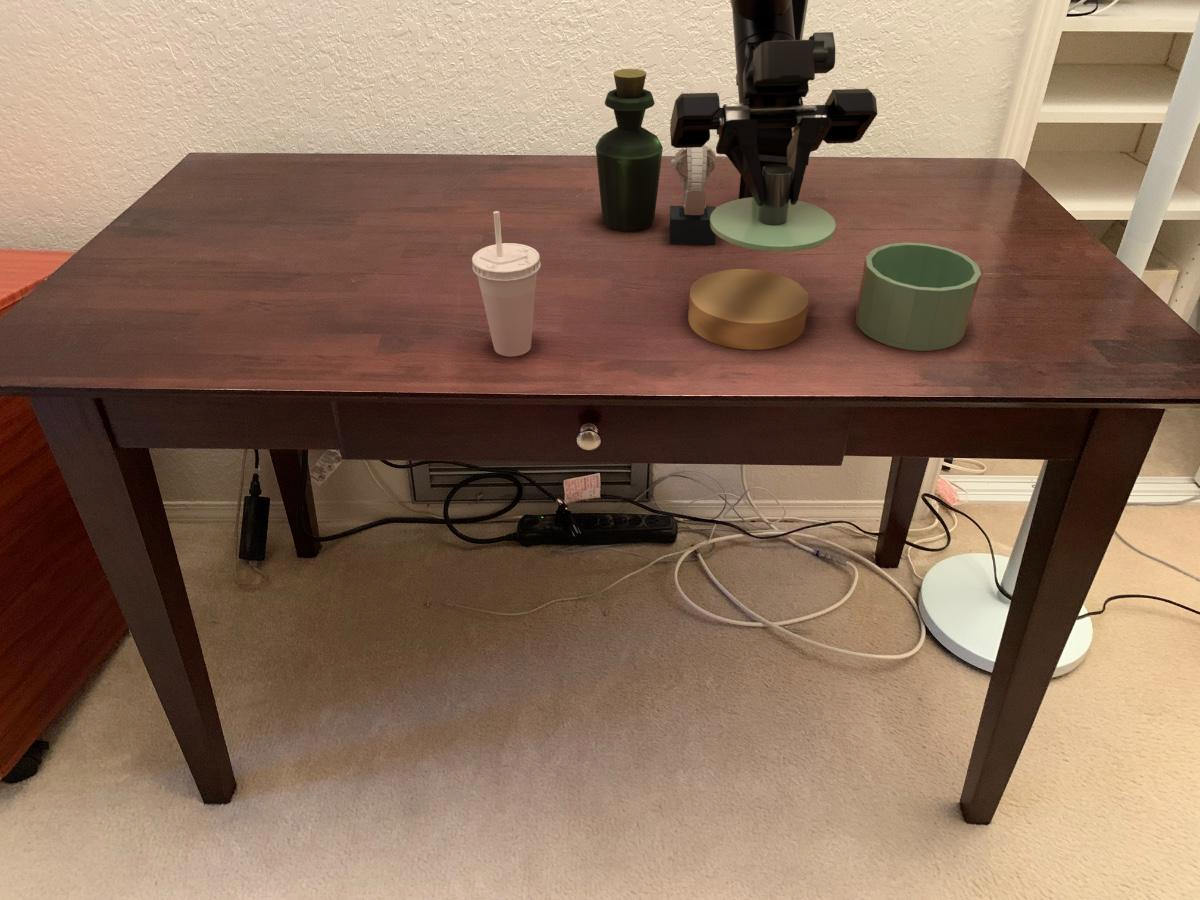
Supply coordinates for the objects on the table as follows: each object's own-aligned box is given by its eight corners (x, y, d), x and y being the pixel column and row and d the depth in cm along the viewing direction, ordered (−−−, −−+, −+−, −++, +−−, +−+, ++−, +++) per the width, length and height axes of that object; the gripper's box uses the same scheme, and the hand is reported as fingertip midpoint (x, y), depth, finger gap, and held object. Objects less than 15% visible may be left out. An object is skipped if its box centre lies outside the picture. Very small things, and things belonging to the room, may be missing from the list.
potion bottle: (583, 220, 116) (580, 72, 105) (630, 204, 120) (632, 60, 109) (626, 240, 111) (627, 86, 100) (673, 222, 115) (680, 73, 104)
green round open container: (840, 333, 92) (850, 273, 88) (874, 291, 99) (885, 234, 95) (948, 361, 87) (964, 300, 83) (976, 315, 95) (991, 257, 91)
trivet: (667, 330, 93) (668, 304, 91) (718, 284, 101) (720, 259, 99) (777, 361, 88) (780, 334, 86) (821, 311, 96) (826, 285, 94)
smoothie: (480, 332, 93) (468, 200, 84) (543, 329, 93) (537, 197, 85) (479, 365, 87) (465, 227, 79) (546, 362, 88) (539, 224, 80)
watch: (712, 224, 114) (719, 136, 108) (716, 250, 108) (722, 159, 101) (668, 223, 115) (671, 135, 108) (668, 250, 108) (672, 158, 102)
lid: (687, 240, 87) (691, 177, 83) (740, 199, 95) (745, 140, 91) (807, 268, 82) (816, 202, 78) (851, 222, 90) (861, 160, 86)
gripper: (679, -2, 79) (690, 168, 77) (890, -6, 80) (907, 161, 78) (665, 69, 90) (674, 219, 88) (850, 65, 91) (864, 213, 89)
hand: (777, 203), depth 85 cm, fingers closed on lid, 3 cm apart
